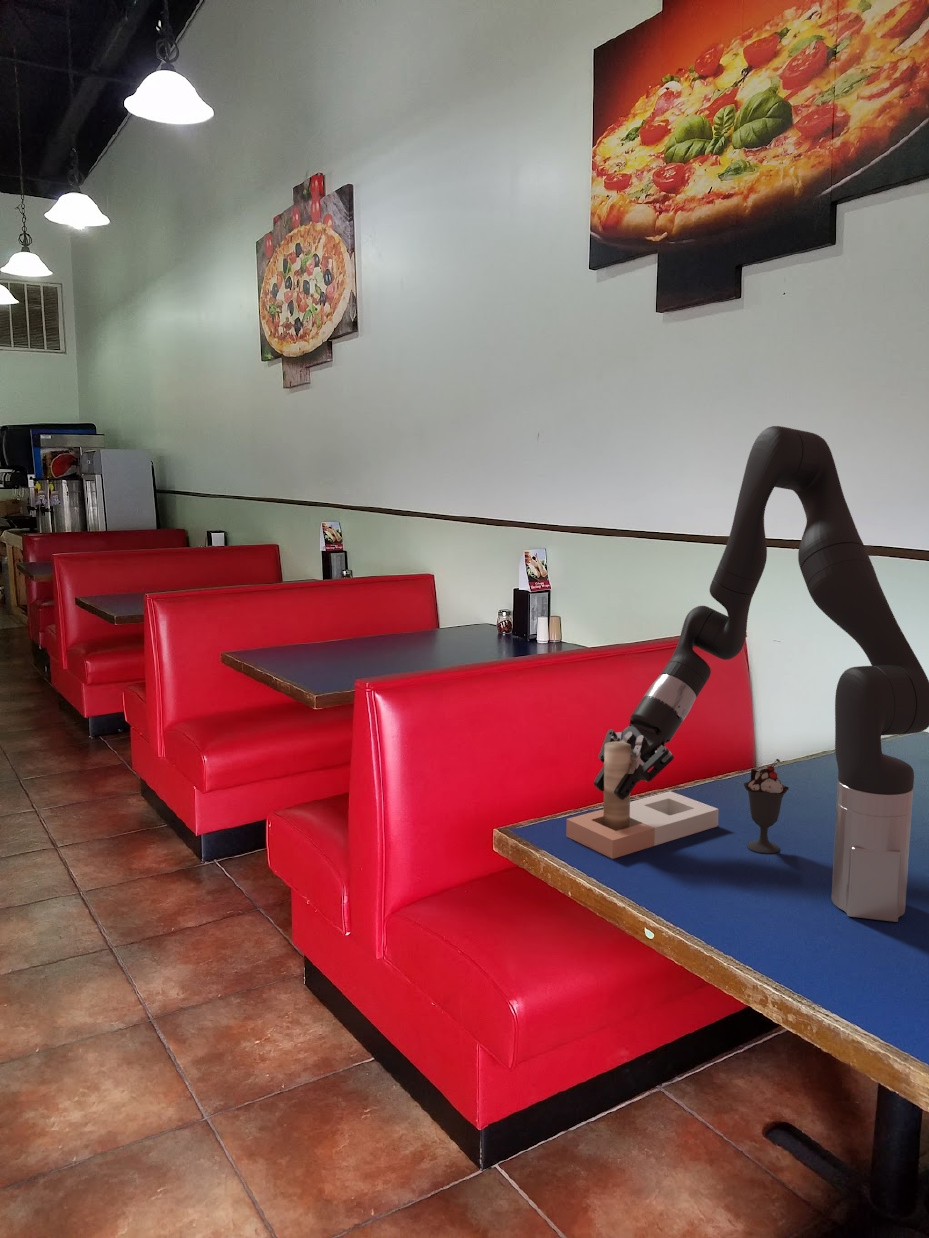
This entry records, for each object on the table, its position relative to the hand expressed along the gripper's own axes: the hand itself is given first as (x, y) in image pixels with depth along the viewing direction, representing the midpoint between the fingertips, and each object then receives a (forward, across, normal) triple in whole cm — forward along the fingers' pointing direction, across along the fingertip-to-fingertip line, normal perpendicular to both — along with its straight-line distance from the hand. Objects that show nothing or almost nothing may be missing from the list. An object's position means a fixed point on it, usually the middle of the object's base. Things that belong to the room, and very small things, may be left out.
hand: (608, 792), depth 145 cm
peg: (+3, 0, +6) cm, 7 cm away
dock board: (0, 0, +12) cm, 12 cm away
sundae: (-7, +16, +19) cm, 26 cm away
